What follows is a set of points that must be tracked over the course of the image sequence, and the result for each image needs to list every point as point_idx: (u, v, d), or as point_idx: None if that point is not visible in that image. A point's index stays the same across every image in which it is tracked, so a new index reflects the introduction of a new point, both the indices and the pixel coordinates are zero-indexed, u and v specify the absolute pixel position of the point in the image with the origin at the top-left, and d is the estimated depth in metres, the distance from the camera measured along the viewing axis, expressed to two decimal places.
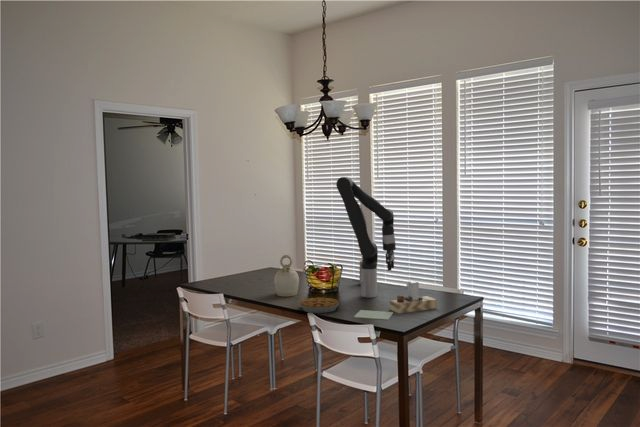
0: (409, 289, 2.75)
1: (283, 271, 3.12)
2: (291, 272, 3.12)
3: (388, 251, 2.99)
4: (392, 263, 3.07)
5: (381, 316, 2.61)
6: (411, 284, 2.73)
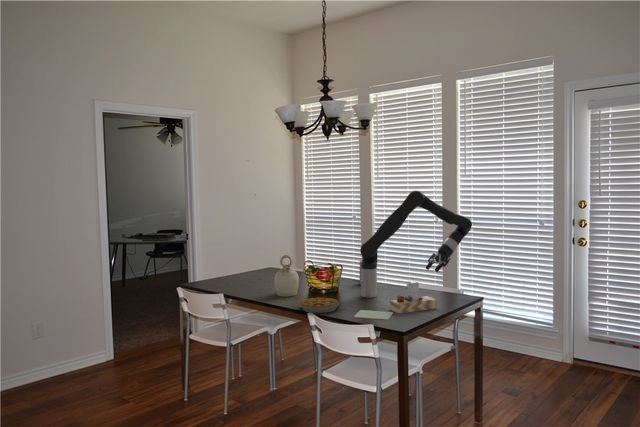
0: (409, 289, 2.75)
1: (283, 271, 3.12)
2: (291, 272, 3.12)
3: (447, 255, 2.79)
4: (430, 265, 2.84)
5: (381, 316, 2.61)
6: (411, 284, 2.73)
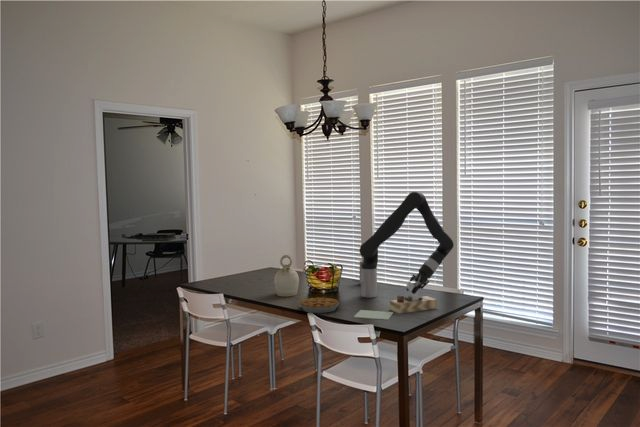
0: (409, 289, 2.75)
1: (283, 271, 3.12)
2: (291, 272, 3.12)
3: (427, 276, 2.74)
4: None
5: (381, 316, 2.61)
6: (411, 284, 2.73)
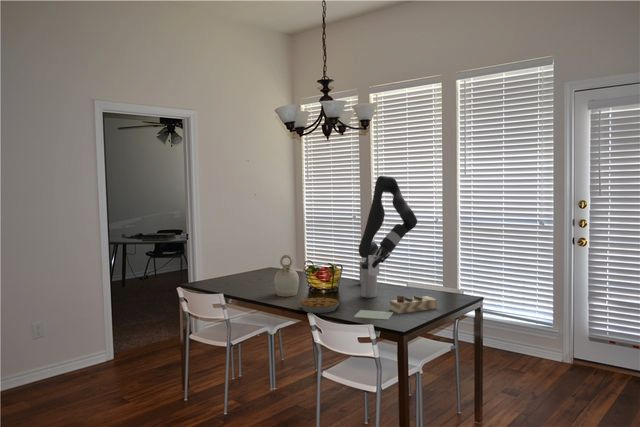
0: (369, 264, 2.63)
1: (283, 271, 3.12)
2: (291, 272, 3.12)
3: (388, 249, 2.62)
4: None
5: (381, 316, 2.61)
6: (371, 258, 2.61)
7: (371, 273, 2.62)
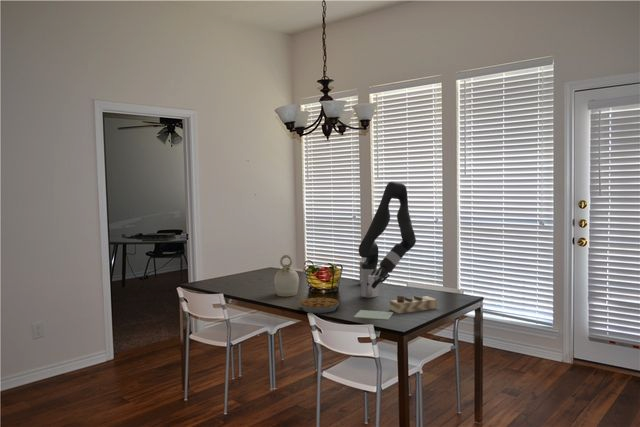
0: (369, 284, 2.64)
1: (283, 271, 3.12)
2: (291, 272, 3.12)
3: (388, 270, 2.63)
4: None
5: (381, 316, 2.61)
6: (371, 278, 2.62)
7: (371, 293, 2.63)
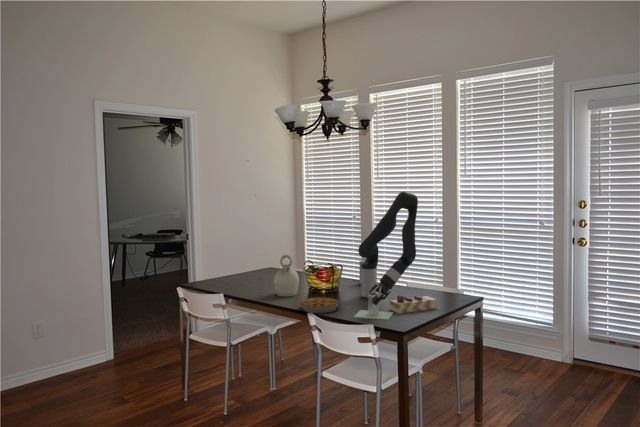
0: (369, 303, 2.65)
1: (283, 271, 3.12)
2: (291, 272, 3.12)
3: (388, 287, 2.63)
4: None
5: (381, 316, 2.61)
6: (371, 298, 2.63)
7: (371, 313, 2.63)
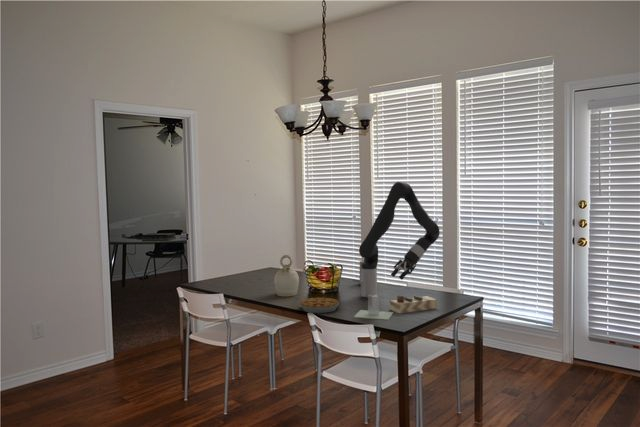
0: (369, 303, 2.65)
1: (283, 271, 3.12)
2: (291, 272, 3.12)
3: (412, 262, 2.69)
4: (396, 272, 2.75)
5: (381, 316, 2.61)
6: (371, 298, 2.63)
7: (371, 313, 2.63)
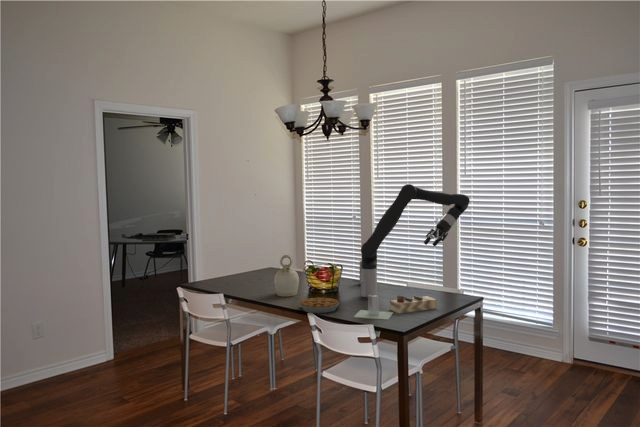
0: (369, 303, 2.65)
1: (283, 271, 3.12)
2: (291, 272, 3.12)
3: (444, 230, 2.85)
4: (428, 240, 2.91)
5: (381, 316, 2.61)
6: (371, 298, 2.63)
7: (371, 313, 2.63)
